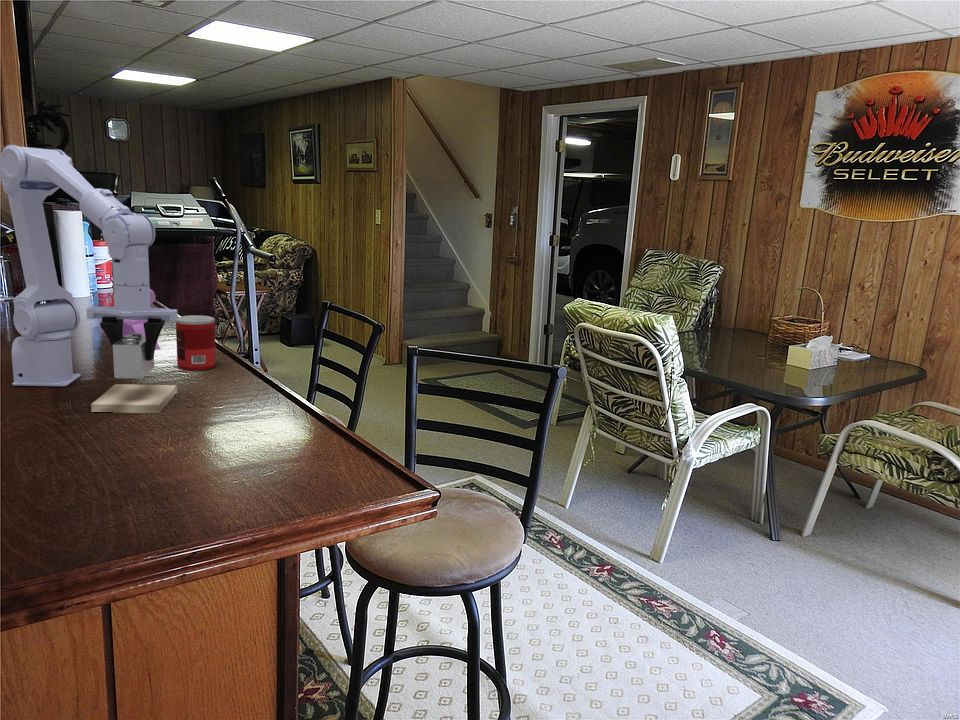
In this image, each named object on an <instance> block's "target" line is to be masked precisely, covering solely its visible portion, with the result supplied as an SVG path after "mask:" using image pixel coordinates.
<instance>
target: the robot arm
mask: <svg viewBox="0 0 960 720" xmlns="http://www.w3.org/2000/svg"><path fill="white" fill-rule="evenodd" d="M0 179H1V185H2V189H3V192H4V193H5V194H6V195H7V198H8V204H9V208H10V214H11V219H12V223H13V229H14V235H15V238H16V243H17V248H18V254H19V258H20V263H21V268H22V272H23V274H22V275H23V278H24V279H23V280H24V283H25V289H23V291H21V292H20V293H19V294H18V295H16V297H15V298H13V300H12V301H13V308H14V309H13V311H14V313H13V316H12V317H13V319H12V321H13V325H14V328H15V330H16V331H17V332H18V334H20V335H21V336H17V337H15V339H14V340H13V342H12V345H11V346H12V347H11V363H12V376H13V382H12V383H11V384H12V386H20V387H21V386H24V387H25V386H26V387H28V386H29V387H33V386H34V387H35V386H36V387H67V386H69V385H70V384H71V383H73V382H74V381H76V380H78V379H79V378H81V376H82V374H81V373H74V369H73V355H72V339H71V337H73V336H75V331H76V330H77V329H78V328H79V326H80V323H81V315H80V311H79V309H78V308H77V306H76V303H75V302H74V298H73V294H72V293H71V292H70V291H68V290H67V289H65V288H63V287H62V286H61V285H59V282H58V275H57V270H56V266H55V260H54V255H53V250H52V245H51V240H50V234H49V229H48V225H47V219H46V215H45V209H44V201H45V200H46V198H47V197H48V196H49V197H50V196H51V195H53V194H54V193H55V192H57V191H58V190H59V189H62V190H63V192H65V193H66V194H67V195H69V196H70V197H72V198H73V199H75V200H76V201H77V202H78V203H79V210H80V212H81V214H83V215H84V216H85V217H86V218H88V220H90V222H92V223H93V224H94V225H95V226H96V227H98V228H99V229H100V230H101V233H102V238H103V240H104V242H105V244H106V246H107V251H108V252H107V253H108V255H109V258H111V263H112V264H111V265H112V267H111V268H112V285H113V301H114V302H113V303H114V305H113V306H112V305H111V306H110V305H109V306H108V305H107V306H94V305H93V306H89V307H86V309H85V310H86V319H87V320H94V319H99V320H101V322H100V323H99V326H100V328H101V330H102V331H103V333H104V334H105V336H106V337H107V339H108V341H109V343H110V345H111V348H112V349H113V344H114V343H116V342H117V341H119V340H120V339H121V338H122V335H123V320H124V319H130V320H148V322H145V323H144V324H143V326H144V331H145V337H146V358H147V361H151V360H152V359H153V358H154V359H155V351H156V350H155V347H156V343H158V340H159V337H160V335H161V332H162V330H163V328H164V326H165V324H166V322H167V321H168V322H171V323H173V322H174V323H176V321H177V320H178V317H179V316H178V309H175V308H174V309H173V308H163V307H162V308H161V307H151V305H150V289H151V287H150V266H149V265H150V263H149V260H150V259H149V247H150V246H152V245H153V243H154V242H155V239H156V228H155V225H154V223H153V221H152V220H151V219H150V218H149V217H148V215H147V214H144V213H135V212H133V211H131V209H130V208H129V207H128V206H127V205H124V204H123V203H122V202H121V201H119V200H118V198H116V197H115V196H114V195H113V192H112V191H111V190H110V189H109V188H108V189H106V188H95V187H94V186H93V185H92V184H90V182H89V181H87V179H86V178H85V177H84V176H83V175H82V174H81V173H80V172H79V171H78V170H77V169H76V168H75V167H74V164H73V160H72V157H70V156H69V155H67V154H66V153H65V152H64V151H63V150H62V149H57V148H54V149H48V148H41V147H39V148H38V147H31V146H30V147H27V146H18V145H15V144H8V145H5V147H4V148H3V150H2V151H1V154H0ZM40 301H41V302H42V301H52V302H42V303H37V302H40ZM140 316H144V317H140Z"/></svg>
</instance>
